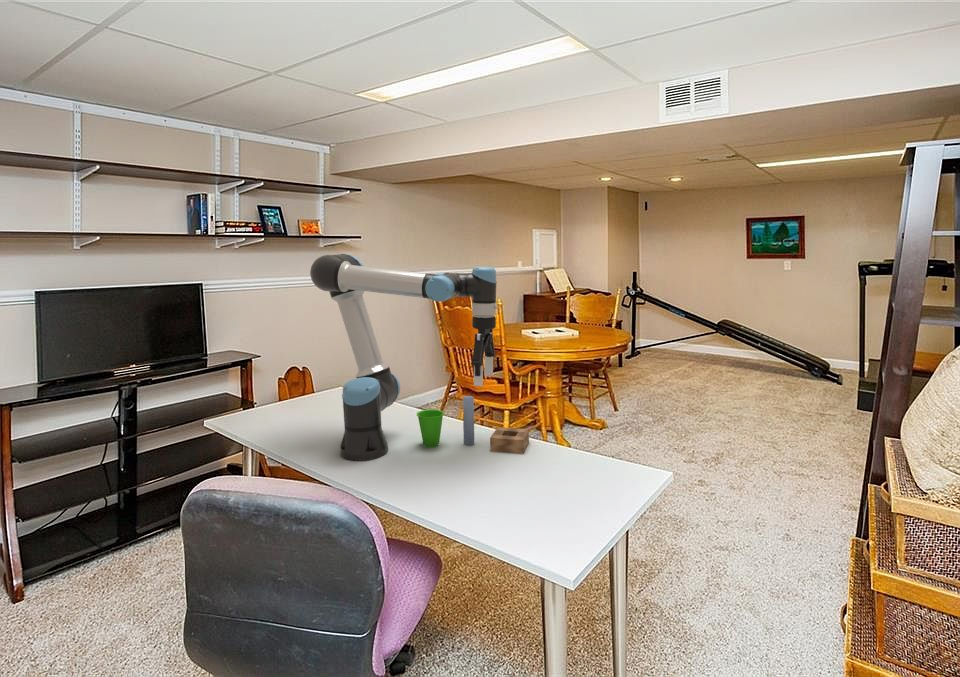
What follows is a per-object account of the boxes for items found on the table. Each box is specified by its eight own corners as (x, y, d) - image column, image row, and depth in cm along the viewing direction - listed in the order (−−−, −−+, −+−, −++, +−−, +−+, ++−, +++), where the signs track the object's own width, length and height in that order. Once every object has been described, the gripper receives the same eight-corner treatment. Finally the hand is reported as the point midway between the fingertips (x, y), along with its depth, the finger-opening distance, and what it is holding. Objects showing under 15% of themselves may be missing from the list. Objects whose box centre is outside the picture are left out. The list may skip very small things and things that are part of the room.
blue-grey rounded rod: (462, 444, 185) (461, 398, 182) (465, 441, 188) (464, 395, 186) (472, 445, 184) (472, 398, 181) (475, 442, 187) (474, 396, 185)
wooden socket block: (490, 451, 179) (490, 437, 178) (497, 439, 189) (497, 427, 188) (523, 453, 176) (523, 440, 176) (528, 442, 187) (528, 429, 186)
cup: (440, 450, 180) (439, 417, 178) (414, 448, 182) (412, 416, 180) (447, 441, 189) (447, 409, 187) (422, 439, 191) (421, 408, 189)
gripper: (485, 321, 164) (485, 391, 168) (503, 311, 188) (503, 372, 192) (461, 320, 166) (461, 389, 170) (482, 311, 190) (482, 371, 194)
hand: (483, 380), depth 181 cm, fingers open, 13 cm apart
